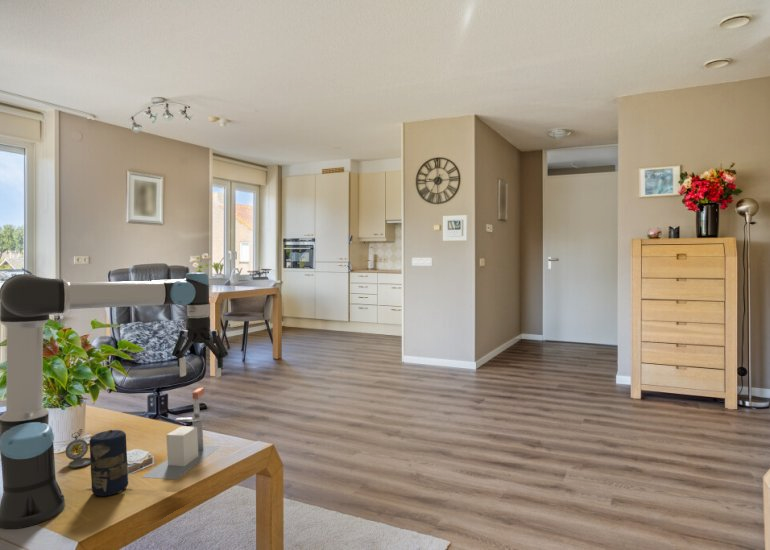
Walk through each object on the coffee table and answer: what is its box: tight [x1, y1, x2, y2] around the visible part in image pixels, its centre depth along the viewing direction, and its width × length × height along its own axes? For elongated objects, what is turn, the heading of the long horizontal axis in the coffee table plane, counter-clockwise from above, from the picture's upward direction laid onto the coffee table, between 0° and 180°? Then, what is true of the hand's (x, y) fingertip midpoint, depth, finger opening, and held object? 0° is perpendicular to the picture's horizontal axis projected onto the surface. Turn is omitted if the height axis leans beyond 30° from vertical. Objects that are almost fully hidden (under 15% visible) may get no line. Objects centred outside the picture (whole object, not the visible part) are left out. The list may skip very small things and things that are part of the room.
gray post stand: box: [141, 419, 221, 480], centre depth 167 cm, size 26×12×11 cm, turn 169°
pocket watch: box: [65, 431, 90, 469], centre depth 170 cm, size 8×8×10 cm
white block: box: [165, 425, 198, 466], centre depth 167 cm, size 8×6×10 cm
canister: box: [89, 429, 129, 497], centre depth 149 cm, size 10×10×18 cm
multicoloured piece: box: [174, 387, 205, 423], centre depth 177 cm, size 9×7×10 cm
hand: (200, 376), depth 178 cm, fingers open, 13 cm apart
